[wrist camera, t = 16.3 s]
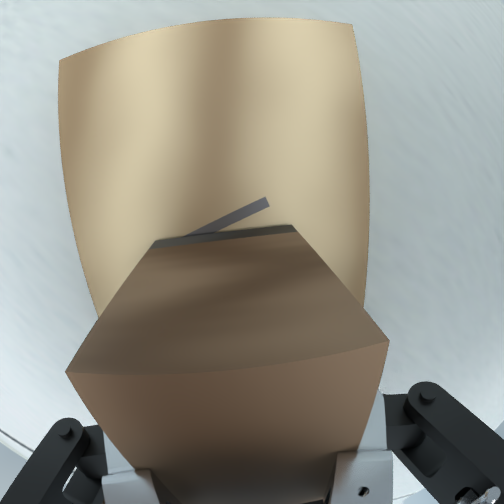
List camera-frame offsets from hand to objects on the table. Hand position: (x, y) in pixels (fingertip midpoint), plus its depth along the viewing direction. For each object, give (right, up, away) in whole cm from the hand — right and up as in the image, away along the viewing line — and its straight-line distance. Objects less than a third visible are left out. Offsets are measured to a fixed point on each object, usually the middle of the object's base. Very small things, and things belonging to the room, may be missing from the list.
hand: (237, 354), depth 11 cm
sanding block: (0, 0, +1) cm, 1 cm away
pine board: (-1, +3, +3) cm, 4 cm away
